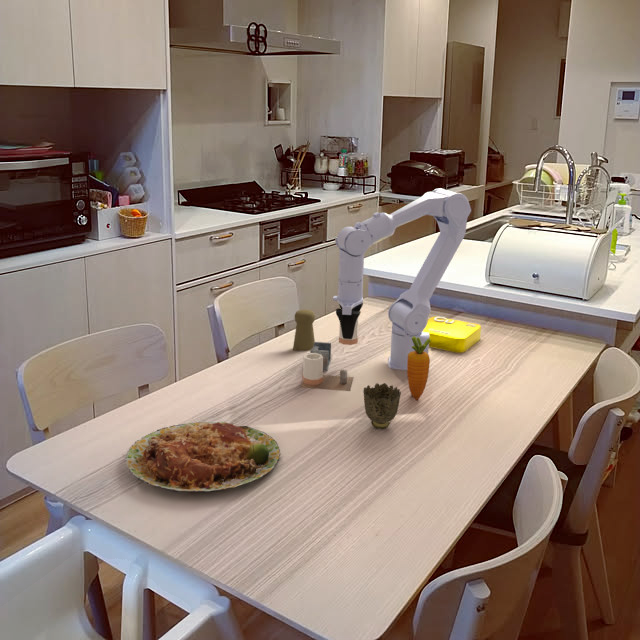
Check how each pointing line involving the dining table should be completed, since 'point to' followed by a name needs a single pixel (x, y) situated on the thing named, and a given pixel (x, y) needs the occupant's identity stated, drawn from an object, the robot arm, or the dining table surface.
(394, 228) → the robot arm
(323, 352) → the grey metal bracket
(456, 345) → the element tile
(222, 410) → the dining table surface
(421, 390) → the carrot
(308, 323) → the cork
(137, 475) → the rice dish
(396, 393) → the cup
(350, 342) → the sleeve
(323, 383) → the pin board
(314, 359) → the sleeve
